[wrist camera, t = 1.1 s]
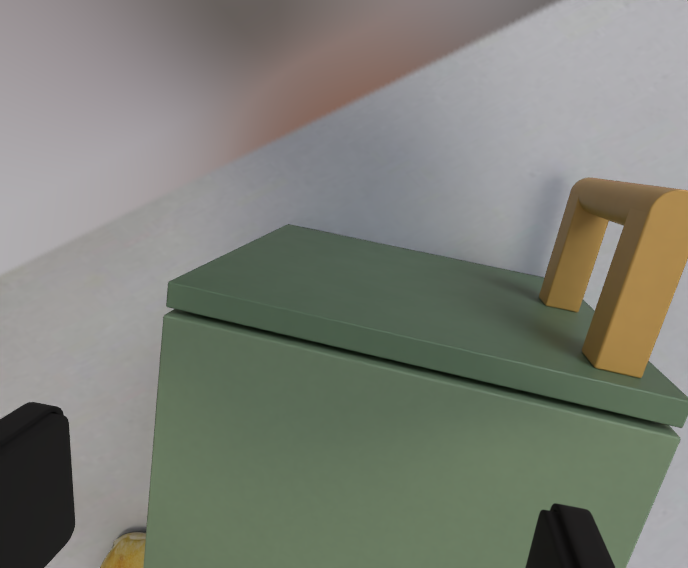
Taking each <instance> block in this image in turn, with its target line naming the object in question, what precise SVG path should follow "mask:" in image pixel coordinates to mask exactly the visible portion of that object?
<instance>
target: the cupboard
mask: <svg viewBox="0 0 688 568" xmlns="http://www.w3.org/2000/svg"><path fill="white" fill-rule="evenodd" d="M679 442H680V437H679V436H678V435H677V434H676V433H675V431H674V430H673V429H672V428H671V427H670V426H669V425H666V424H662V423H658V422H654V421H649V420H645V419H641V418H637V417H632V416H628V415H624V414H620V413H615V412H611V411H607V410H603V409H598V408H594V407H590V406H586V405H581V404H577V403H573V402H569V401H564V400H560V399H556V398H552V397H547V396H543V395H539V394H535V393H530V392H526V391H522V390H518V389H513V388H509V387H505V386H501V385H496V384H492V383H488V382H484V381H479V380H475V379H471V378H467V377H462V376H458V375H454V374H450V373H445V372H441V371H437V370H433V369H428V368H424V367H420V366H416V365H411V364H407V363H403V362H399V361H395V360H390V359H386V358H382V357H378V356H373V355H369V354H365V353H361V352H356V351H352V350H348V349H344V348H339V347H335V346H331V345H327V344H322V343H318V342H314V341H310V340H305V339H301V338H297V337H293V336H288V335H284V334H280V333H276V332H271V331H267V330H263V329H259V328H254V327H250V326H246V325H242V324H237V323H233V322H229V321H225V320H220V319H216V318H212V317H208V316H203V315H199V314H195V313H191V312H186V311H182V310H178V309H174V310H172V311H170V312H169V313H167V314H166V315H164V317H163V329H162V342H161V354H160V367H159V379H158V392H157V404H156V416H155V429H154V441H153V454H152V466H151V479H150V491H149V503H148V516H147V528H146V541H145V553H144V566H143V568H525V567H526V563H527V559H528V556H529V552H530V548H531V544H532V540H533V536H534V532H535V528H536V524H537V520H538V516H539V513H540V511H541V510H549V511H550V509H551V506H552V505H553V504H555V503H557V504H563V505H568V506H573V507H578V508H583V509H587V510H589V511H590V512H591V514H592V516H593V518H594V520H595V523H596V525H597V527H598V529H599V532H600V534H601V536H602V538H603V541H604V543H605V545H606V547H607V550H608V552H609V554H610V556H611V559H612V561H613V563H614V565H615V568H626V566H627V564H628V562H629V559H630V557H631V555H632V552H633V550H634V548H635V545H636V543H637V541H638V538H639V536H640V534H641V531H642V529H643V526H644V524H645V522H646V519H647V517H648V515H649V512H650V510H651V508H652V505H653V503H654V501H655V498H656V496H657V494H658V491H659V489H660V487H661V484H662V482H663V480H664V477H665V475H666V473H667V470H668V468H669V466H670V463H671V461H672V458H673V456H674V454H675V451H676V449H677V447H678V444H679Z"/></svg>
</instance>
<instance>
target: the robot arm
mask: <svg viewBox="0 0 688 568" xmlns="http://www.w3.org/2000/svg"><path fill="white" fill-rule="evenodd" d="M74 527H75V513H74V497H73V481H72V466H71V450H70V435H69V422H68V419H67V417H66V416H64V415H63V411H62V410H61V408H59V407H56V406H51V405H46V404H41V403H35V402H29V403H27V404H24V405H23V406H21V407H19V408H18V409H16V410H15V411H13V412H11V413H10V414H8V415H7V416H5V417H3V418H2V419H0V568H44V567H45V566H46V565H47V564H48V563H49V562H50V561H51V560H52V559H53V558H54V557H55V555H56V554H57V553H58V552H59V551H60V550H61V549H62V548H63V547H64V546H65V545H66V543H67V542H68V541H69V539H70V538H71V536H72V533H73V531H74ZM525 568H615V565H614V563H613V561H612V559H611V556H610V554H609V552H608V550H607V547H606V545H605V543H604V541H603V538H602V536H601V534H600V532H599V529H598V527H597V525H596V523H595V520H594V518H593V516H592V514H591V512H590V511H589V510H587V509H583V508H578V507H573V506H568V505H563V504H557V503H555V504H553V505H552V506H551V509H550V511H549V510H541V511H540V513H539V516H538V520H537V524H536V528H535V532H534V536H533V540H532V544H531V548H530V552H529V556H528V559H527V563H526V567H525Z"/></svg>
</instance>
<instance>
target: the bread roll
mask: <svg viewBox="0 0 688 568" xmlns="http://www.w3.org/2000/svg"><path fill="white" fill-rule="evenodd" d="M145 541H146V533H142V532H132V533H127V534H124V535H122V536H121V537H119V538H118V539H117V540H115V541H114V542H113V547H112V549H111V551H110V552H109V553H108V555H107V556H106V558H105V559H104V561H103V562H102V565H101V567H100V568H143V566H144V553H145Z"/></svg>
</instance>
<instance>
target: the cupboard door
mask: <svg viewBox="0 0 688 568" xmlns="http://www.w3.org/2000/svg"><path fill="white" fill-rule="evenodd" d="M609 221H612V222H615V223H618V224H621V225H623V226H624V227H623V230H622V233H621V236H620V239H619V242H618V245H617V248H616V251H615V254H614V257H613V260H612V263H611V265H610V268H609V271H608V274H607V277H606V280H605V283H604V286H603V289H602V292H601V295H600V298H599V301H598V304H597V306H596V309H595V311H594V310H593V309H592V308H591V307H590V306H589V305H588V304H587V303H586V302H585V301H584V300H583V297H584V294H585V291H586V288H587V285H588V282H589V279H590V276H591V273H592V270H593V267H594V264H595V261H596V258H597V255H598V252H599V249H600V246H601V243H602V240H603V237H604V234H605V231H606V228H607V225H608V222H609ZM687 259H688V191H687V190H681V189H674V188H666V187H659V186H651V185H643V184H636V183H628V182H620V181H613V180H605V179H597V178H584V179H581V180H579V181H578V182H577V183H575V185H574V186H573V187H572V189H571V192H570V196H569V199H568V202H567V205H566V209H565V212H564V215H563V219H562V222H561V225H560V228H559V232H558V235H557V238H556V242H555V245H554V248H553V251H552V255H551V258H550V261H549V265H548V268H547V271H546V274H545V278H543V277H538V276H533V275H529V274H524V273H519V272H514V271H510V270H505V269H500V268H495V267H490V266H486V265H481V264H476V263H471V262H466V261H462V260H457V259H452V258H447V257H443V256H438V255H433V254H428V253H423V252H419V251H414V250H409V249H404V248H399V247H395V246H390V245H385V244H380V243H375V242H371V241H366V240H361V239H356V238H352V237H347V236H342V235H337V234H332V233H328V232H323V231H318V230H313V229H308V228H304V227H299V226H294V225H289V224H288V225H285V226H283V227H281V228H279V229H277V230H275V231H273V232H271V233H269V234H267V235H265V236H263V237H261V238H258V239H256V240H254V241H252V242H250V243H248V244H246V245H244V246H242V247H240V248H238V249H236V250H234V251H232V252H229V253H227V254H225V255H223V256H221V257H219V258H217V259H215V260H213V261H211V262H209V263H207V264H205V265H202V266H200V267H198V268H196V269H194V270H192V271H190V272H188V273H186V274H184V275H182V276H180V277H178V278H176V279H173V280H171V281H169V283H168V291H167V303H166V306H167V307H169V308H174V309H178V310H182V311H186V312H191V313H195V314H199V315H203V316H208V317H212V318H216V319H220V320H225V321H229V322H233V323H237V324H242V325H246V326H250V327H254V328H259V329H263V330H267V331H271V332H276V333H280V334H284V335H288V336H293V337H297V338H301V339H305V340H310V341H314V342H318V343H322V344H327V345H331V346H335V347H339V348H344V349H348V350H352V351H356V352H361V353H365V354H369V355H373V356H378V357H382V358H386V359H390V360H395V361H399V362H403V363H407V364H411V365H416V366H420V367H424V368H428V369H433V370H437V371H441V372H445V373H450V374H454V375H458V376H462V377H467V378H471V379H475V380H479V381H484V382H488V383H492V384H496V385H501V386H505V387H509V388H513V389H518V390H522V391H526V392H530V393H535V394H539V395H543V396H547V397H552V398H556V399H560V400H564V401H569V402H573V403H577V404H581V405H586V406H590V407H594V408H598V409H603V410H607V411H611V412H615V413H620V414H624V415H628V416H632V417H637V418H641V419H645V420H649V421H654V422H658V423H662V424H666V425H671V426H675V427H679V428H682V427H683V425H684V423H685V421H686V418H687V416H688V397H687V396H686V395H685V394H684V393H683V392H682V391H681V390H679V389H678V388H677V387H676V386H675V385H674V384H673V383H672V382H671V381H670V380H669V379H668V378H667V377H665V376H664V375H663V374H662V373H661V372H660V371H659V370H658V369H657V368H656V367H655V366H654V365H653V364H651V363H650V362H649V361H648V360H649V358H650V355H651V352H652V350H653V347H654V345H655V342H656V339H657V337H658V334H659V332H660V329H661V327H662V324H663V321H664V319H665V316H666V314H667V311H668V308H669V306H670V303H671V301H672V298H673V295H674V293H675V290H676V288H677V285H678V282H679V280H680V277H681V275H682V272H683V269H684V267H685V264H686V262H687Z"/></svg>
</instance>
